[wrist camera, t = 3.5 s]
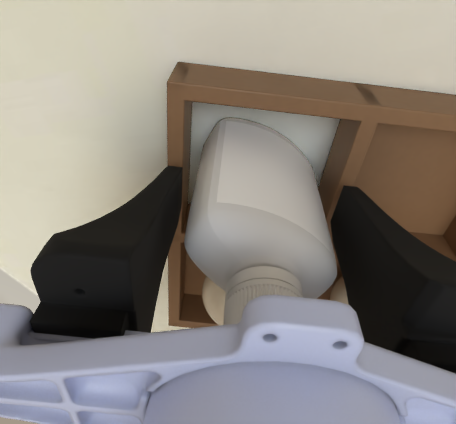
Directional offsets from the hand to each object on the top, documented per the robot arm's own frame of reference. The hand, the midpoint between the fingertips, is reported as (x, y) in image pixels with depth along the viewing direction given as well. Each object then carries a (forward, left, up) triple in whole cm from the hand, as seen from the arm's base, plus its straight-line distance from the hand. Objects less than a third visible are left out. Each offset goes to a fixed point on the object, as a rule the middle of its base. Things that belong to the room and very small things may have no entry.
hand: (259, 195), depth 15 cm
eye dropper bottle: (0, 0, -4) cm, 4 cm away
